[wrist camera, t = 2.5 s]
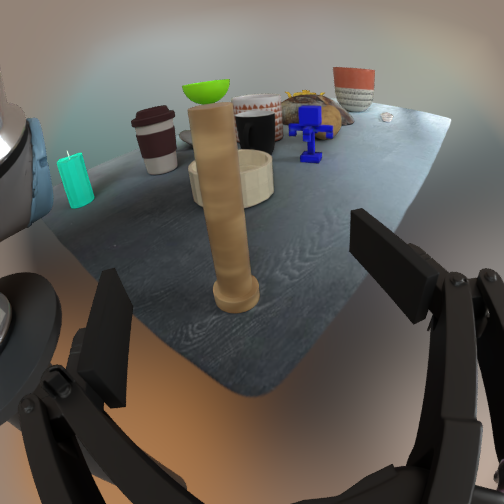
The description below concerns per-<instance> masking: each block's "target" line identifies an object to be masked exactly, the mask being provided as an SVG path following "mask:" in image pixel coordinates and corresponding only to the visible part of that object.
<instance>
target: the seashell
mask: <svg viewBox="0 0 504 504" xmlns="http://www.w3.org/2000/svg"><path fill="white" fill-rule="evenodd" d="M179 137H180V138H181V140H182V141H184V142H186V143H188V144H191V145H193V143H192V137H191V130H185V131H182V132H181V133H180V134H179Z"/></svg>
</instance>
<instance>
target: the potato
mask: <svg viewBox="0 0 504 504" xmlns="http://www.w3.org/2000/svg"><path fill="white" fill-rule="evenodd" d="M321 115H322V124H321V125H333V136H335V135H336V134H337V133H338V131H339V130H340V128H341V115H340V112H339V110H338V109H337V108H336V107H334V106H331V105H327V106H324V107H321ZM315 137H316V138H319V139H321V140H324V139H328V138H326V132H318V133H317V134H316V133H315Z"/></svg>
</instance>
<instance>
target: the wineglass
mask: <svg viewBox="0 0 504 504" xmlns="http://www.w3.org/2000/svg"><path fill="white" fill-rule="evenodd" d="M229 82H230V79H224V80H215V81H207V82H201V83H195V84H188V85H184V86H182V88H183V92H184V93H185V95H186V96H187V97H188V98H189V99H190V100H191V101H193V102H195V103H198V104H202V105H204V104H211V103H215V102H217V101H219V100H220V99H221V98H222V97H223V96H224V95H225V94H226V92H227V91H228V88H229V85H230V83H229Z"/></svg>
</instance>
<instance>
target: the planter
mask: <svg viewBox="0 0 504 504" xmlns="http://www.w3.org/2000/svg"><path fill="white" fill-rule="evenodd" d="M333 74H334V84H335V93H336V98H337V100H338V102H339V104H340V105H341V106H342V107H343V108H344V109H346V110H348V111H352V112H362V111H365V110H366V109H367V108H369V107H370V105H371V104H372V101H373V97H374V80H375V79H374V78H375V70H369V69H357V68H342V67H333Z"/></svg>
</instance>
